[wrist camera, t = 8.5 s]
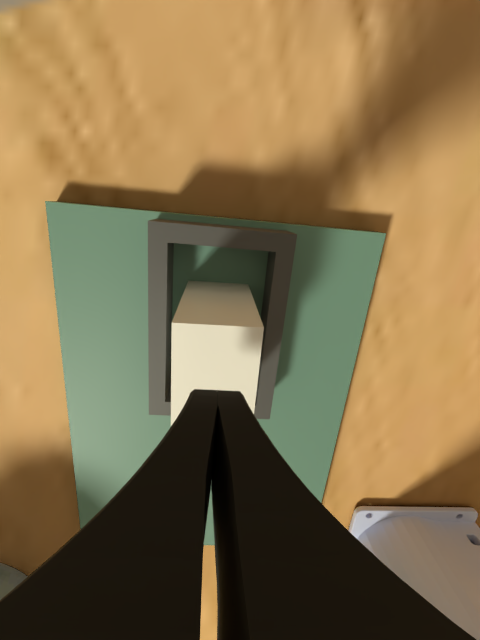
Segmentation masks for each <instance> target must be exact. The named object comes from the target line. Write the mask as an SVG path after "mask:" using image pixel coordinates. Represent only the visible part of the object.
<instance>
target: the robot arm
mask: <svg viewBox="0 0 480 640" xmlns="http://www.w3.org/2000/svg"><path fill="white" fill-rule="evenodd" d="M211 481H212V482H211ZM210 491H212V508H213V525H214V542H215V558H216V575H217V601H218V626H217V640H480V528H479V527H478V525H477V524H476V523H475V521H476V519H477V517H478V513H477V511H476V510H475V509H474V508H470V507H397V506H359V507H357V508H356V509H355V510H354V513H353V517H352V520H351V523H350V527H349V530H347V529H346V528H345V527H344V526H343V525H342V524H341V523H340V522H339V521H338V520H337V519H336V518H335V517H334V516H333V515H332V514H331V513H330V512H329V511H328V510H327V509H326V508H325V507H324V506H323V505H322V503H321V502H320V501H319V500H318V499H317V498H316V497H315V496H314V495H313V494H312V493H311V491H310V490H309V489H308V488H307V487H306V486H305V484H304V483H303V482H302V481H301V480H300V478H299V477H298V476H297V475H296V474H295V472H294V471H293V470H292V469H291V467H290V466H289V465H288V463H287V462H286V461H285V460H284V458H283V457H282V456H281V454H280V453H279V452H278V450H277V449H276V447H275V446H274V445H273V443H272V442H271V440H270V439H269V437H268V436H267V434H266V433H265V431H264V430H263V428H262V427H261V425H260V424H259V422H258V421H257V419H256V417H255V416H254V414H253V412H252V410H251V409H250V407H249V405H248V403H247V401H246V399H245V397H244V395H243V394H242V393H241V392H240V391H226V390H204V389H194V390H193V391H192V392H190V394H189V397H188V399H187V401H186V403H185V405H184V407H183V408H182V410H181V412H180V413H179V415H178V417H177V418H176V420H175V421H174V423H173V424H172V426H171V427H170V429H169V430H168V432H167V433H166V434H165V436H164V437H163V439H162V440H161V442H160V443H159V444H158V445H157V447H156V448H155V449H154V450H153V452H152V453H151V454H150V456H149V457H148V458H147V459H146V461H145V462H144V463H143V464H142V466H141V467H140V468H139V469H138V470H137V471H136V473H135V474H134V475H133V476H132V477H131V478H130V480H129V481H128V482H127V483H126V484H125V485H124V486H123V487H122V488H121V489H120V490H119V492H118V493H117V494H116V495H115V496H114V497H113V498H112V499H111V500H110V501H109V502H108V503H107V504H106V505H105V506H104V507H103V508H102V509H101V510H100V511H99V512H98V513H97V514H96V515H95V516H94V517H93V518H92V519H91V520H90V521H89V522H88V523H87V524H86V525H85V526H84V527H83V528H82V529H81V530H80V531H79V532H78V533H77V534H76V535H74V536H73V537H72V538H71V539H70V540H69V541H68V542H67V543H66V544H65V545H64V546H63V547H61V548H60V549H59V550H58V551H57V552H56V553H55V554H54V555H53V556H52V557H50V558H49V559H48V560H47V561H46V562H44V563H43V564H42V565H41V566H40V567H39V568H37V569H36V570H35V571H34V572H33V573H32V574H30V575H29V576H28V577H27V578H26V579H24V580H23V581H22V582H21V583H20V584H19V585H17V586H16V587H15V588H14V589H13V590H12V591H10V592H9V593H8V594H7V595H6V596H4V597H3V598H2V599H1V600H0V640H200V616H201V588H202V561H203V546H204V538H205V530H206V522H207V514H208V507H209V499H210Z"/></svg>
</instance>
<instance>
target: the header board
mask: <svg viewBox="0 0 480 640" xmlns="http://www.w3.org/2000/svg"><path fill="white" fill-rule="evenodd" d="M45 203H46V212H47V222H48V231H49V240H50V249H51V259H52V268H53V277H54V287H55V296H56V305H57V315H58V324H59V333H60V343H61V352H62V361H63V371H64V380H65V389H66V399H67V408H68V417H69V426H70V436H71V445H72V454H73V464H74V473H75V482H76V492H77V501H78V510H79V520H80V529H82V528H83V527H84V526H85V525H86V524H87V523H88V522H89V521H90V520H91V519H92V518H93V517H94V516H95V515H96V514H97V513H98V512H99V511H100V510H101V509H102V508H103V507H104V506H105V505H106V504H107V503H108V502H109V501H110V500H111V499H112V498H113V497H114V496H115V495H116V494H117V493H118V492H119V490H120V489H121V488H122V487H123V486H124V485H125V484H126V483H127V482H128V481H129V480H130V478H131V477H132V476H133V475H134V474H135V473H136V471H137V470H138V469H139V468H140V467H141V466H142V464H143V463H144V462H145V461H146V459H147V458H148V457H149V456H150V454H151V453H152V452H153V450H154V449H155V448H156V447H157V445H158V444H159V443H160V442H161V440H162V439H163V437H164V436H165V434H166V433H167V432H168V430H169V429H170V427H171V335H172V320H173V318H174V315H175V313H176V310H177V308H178V305H179V303H180V300H181V298H182V295H183V293H184V290H185V288H186V285H187V283H188V280H189V281H204V282H219V283H235V284H248V285H249V288H250V291H251V294H252V296H253V299H254V302H255V305H256V307H257V310H258V313H259V316H260V318H261V321H262V324H263V326H264V331H263V340H262V349H261V357H260V366H259V375H258V384H257V392H256V401H255V410H254V416H255V417H256V419H257V421H258V422H259V424H260V425H261V427H262V428H263V430H264V431H265V433H266V434H267V436H268V437H269V439H270V440H271V442H272V443H273V445H274V446H275V447H276V449H277V450H278V452H279V453H280V454H281V456H282V457H283V458H284V460H285V461H286V462H287V463H288V465H289V466H290V467H291V469H292V470H293V471H294V472H295V474H296V475H297V476H298V477H299V478H300V480H301V481H302V482H303V483H304V484H305V486H306V487H307V488H308V489H309V490H310V491H311V493H312V494H313V495H314V496H315V497H316V498H317V499H318V500H319V501H320V502H322V498H323V494H324V490H325V486H326V481H327V477H328V473H329V469H330V465H331V461H332V456H333V452H334V448H335V444H336V440H337V436H338V431H339V427H340V423H341V419H342V415H343V411H344V406H345V402H346V398H347V394H348V390H349V386H350V382H351V377H352V373H353V369H354V365H355V361H356V357H357V352H358V348H359V344H360V340H361V336H362V332H363V327H364V323H365V319H366V315H367V311H368V307H369V302H370V298H371V294H372V290H373V286H374V282H375V278H376V273H377V269H378V265H379V261H380V257H381V253H382V248H383V244H384V240H385V236H386V233H380V232H373V231H363V230H352V229H342V228H331V227H321V226H310V225H299V224H289V223H278V222H268V221H257V220H247V219H236V218H226V217H215V216H205V215H194V214H184V213H173V212H163V211H152V210H141V209H131V208H120V207H110V206H99V205H89V204H78V203H68V202H57V201H45ZM211 482H212V481H211ZM204 545H215V542H214V525H213V508H212V491H210V499H209V507H208V514H207V522H206V530H205V538H204Z"/></svg>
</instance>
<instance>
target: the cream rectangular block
mask: <svg viewBox="0 0 480 640" xmlns="http://www.w3.org/2000/svg"><path fill="white" fill-rule="evenodd" d="M263 331H264V326H263V324H262V321H261V318H260V316H259V313H258V310H257V307H256V305H255V302H254V299H253V296H252V294H251V291H250V288H249V285H248V284H235V283H219V282H204V281H189V280H188V283H187V285H186V288H185V290H184V293H183V295H182V298H181V300H180V303H179V305H178V308H177V310H176V313H175V315H174V318H173V320H172V335H171V426H172V424H173V423H174V421H175V420H176V418H177V417H178V415H179V413H180V412H181V410H182V408H183V407H184V405H185V403H186V401H187V399H188V397H189V394H190V392H192V391H193V390H194V389H204V390H226V391H240V392H241V393H242V394H243V395H244V397H245V399H246V401H247V403H248V405H249V407H250V409H251V410H252V412H253V414H254V410H255V401H256V392H257V384H258V375H259V366H260V357H261V349H262V340H263Z"/></svg>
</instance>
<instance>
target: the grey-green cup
mask: <svg viewBox="0 0 480 640" xmlns="http://www.w3.org/2000/svg"><path fill="white" fill-rule="evenodd" d="M27 577H28V576H26V575H25V574H24V573H22V572H20V571H19V570H17V569H15V568H13V567H10V566H8V565H5V564H2V563H0V600H1V599H2V598H3V597H4V596H6V595H7V594H8V593H9V592H10V591H12V590H13V589H14V588H15V587H16V586H17V585H19V584H20V583H21V582H22V581H23V580H24V579H26V578H27Z"/></svg>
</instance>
